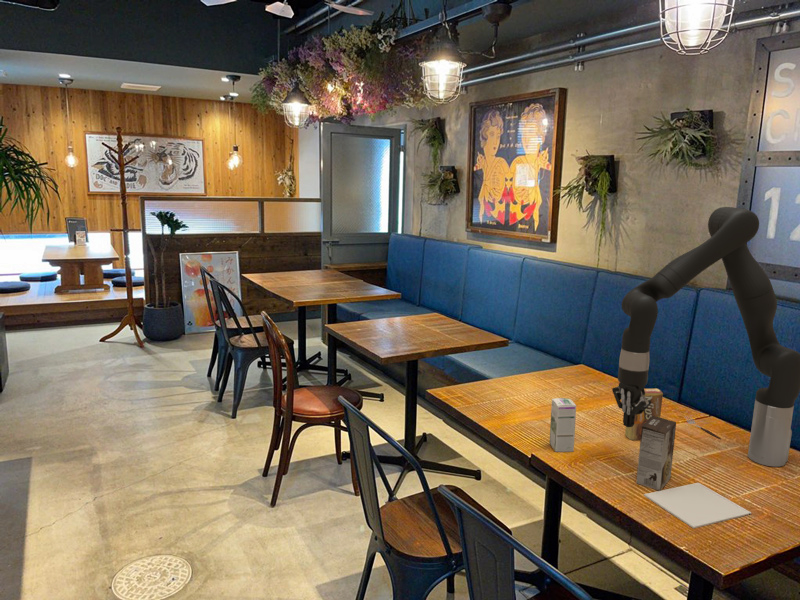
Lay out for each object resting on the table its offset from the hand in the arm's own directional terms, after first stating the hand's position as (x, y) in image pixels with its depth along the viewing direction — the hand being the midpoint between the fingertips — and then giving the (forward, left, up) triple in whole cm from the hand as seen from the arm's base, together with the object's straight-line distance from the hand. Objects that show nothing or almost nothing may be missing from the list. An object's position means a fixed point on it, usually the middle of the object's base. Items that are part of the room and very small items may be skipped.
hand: (628, 426), depth 167 cm
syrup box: (+11, -14, -11) cm, 21 cm away
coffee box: (0, +11, -11) cm, 16 cm away
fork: (-41, -11, -12) cm, 44 cm away
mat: (-1, +24, -11) cm, 26 cm away
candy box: (-17, -12, -11) cm, 24 cm away
